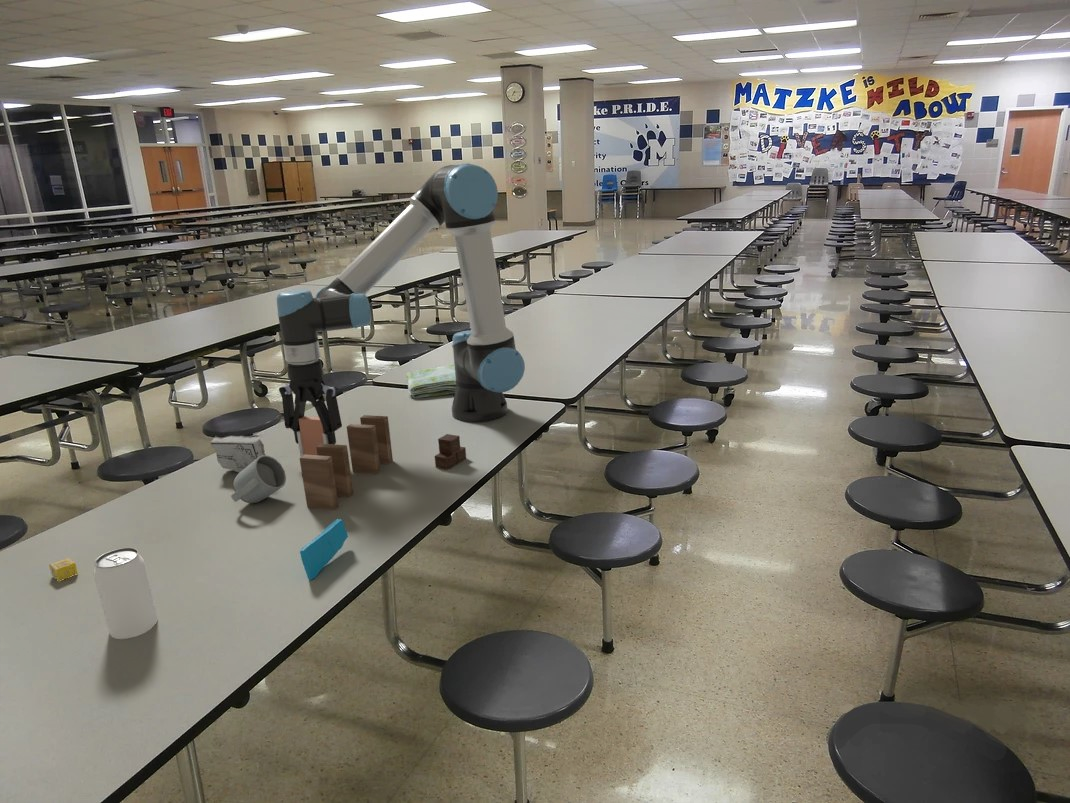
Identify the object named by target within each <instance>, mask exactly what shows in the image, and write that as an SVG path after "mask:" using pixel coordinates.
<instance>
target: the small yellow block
mask: <svg viewBox="0 0 1070 803" xmlns="http://www.w3.org/2000/svg"><path fill="white" fill-rule="evenodd" d="M48 566H49V570H50V574H51V577H52V576H53V577H54V578H55V579H57V580H58V581H60V580H62V579H65V578H68V577H70V576H72V575H75V574H78V575H79V573H78V569H77V565H76V562H74V561H73V560H71V558H69V557H66V558H63V559H60V560H58V561H57V560H56V561H55V562H51V563H49V565H48ZM53 577H52V578H53ZM54 578H53V579H54ZM55 579H54V580H55Z"/></svg>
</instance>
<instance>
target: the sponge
mask: <svg viewBox="0 0 1070 803" xmlns="http://www.w3.org/2000/svg"><path fill="white" fill-rule="evenodd" d="M348 535H349V534H348V531H347V529H346V527H345V523H344V520H343V519H342V518H341V519H340V518H337V519H335V520H334V521H332V522H331V523H330V524H329V525H328V526H326V528H324V530H323V531H322V532H320V534H318V535H317V536H315V538H314V539H312V540H311V541H309V542H308V544H306V545H304V547H302V548H301V549H300V551H299V553H300V554H299V555H300V558H301V563H302V565H303V567H304V571H305V573H306V578H307V579H308V580H309V581H311V580H313V579H315V578H316V577H317V576H318V575H319V573H320V572H321V571H322V570H323V569H324V567H325V566H326V565H327V564H329V562H330V561H331V560H333V558H334V556H335V555H336V554H337V553H338V552H339V551H340V550H341V549H342V548H343V546H344V545H345V544H344V543H345V541H346V540H347V538H348V537H349V536H348Z"/></svg>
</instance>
